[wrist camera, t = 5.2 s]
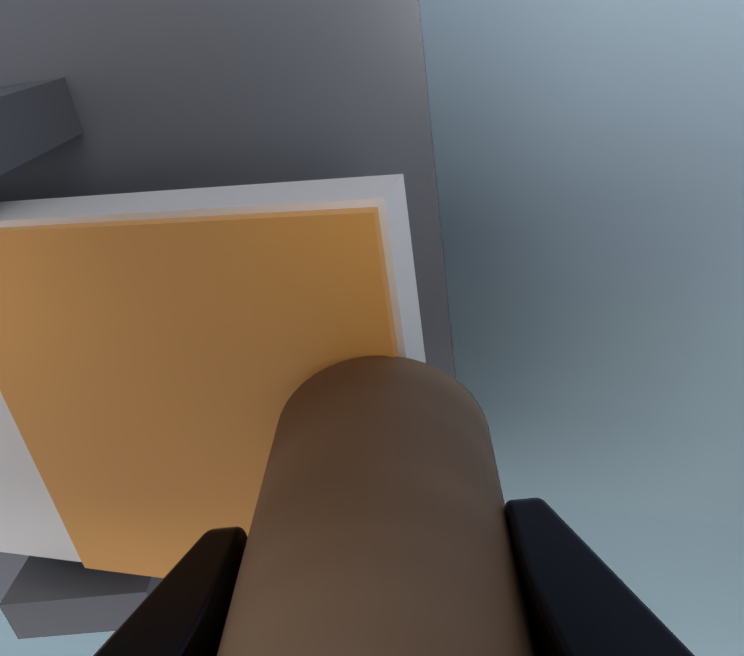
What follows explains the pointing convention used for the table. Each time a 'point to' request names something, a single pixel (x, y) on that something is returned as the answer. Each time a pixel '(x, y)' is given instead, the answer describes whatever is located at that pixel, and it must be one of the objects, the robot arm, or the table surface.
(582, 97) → the table surface
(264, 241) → the white and orange panel
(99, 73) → the grey square block
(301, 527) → the walnut cylinder
